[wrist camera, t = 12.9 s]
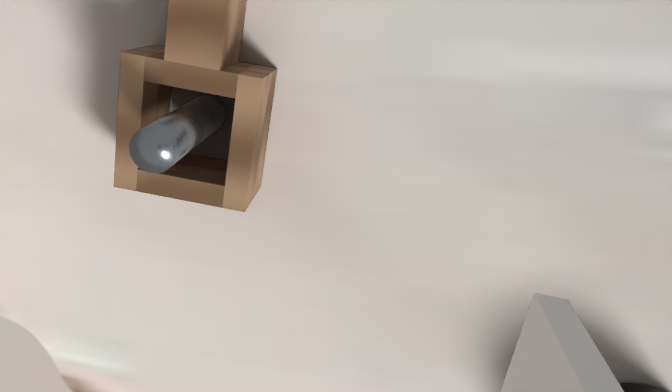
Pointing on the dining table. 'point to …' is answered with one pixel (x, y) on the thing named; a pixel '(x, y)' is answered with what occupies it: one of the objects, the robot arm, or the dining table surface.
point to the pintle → (175, 134)
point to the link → (204, 76)
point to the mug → (639, 388)
